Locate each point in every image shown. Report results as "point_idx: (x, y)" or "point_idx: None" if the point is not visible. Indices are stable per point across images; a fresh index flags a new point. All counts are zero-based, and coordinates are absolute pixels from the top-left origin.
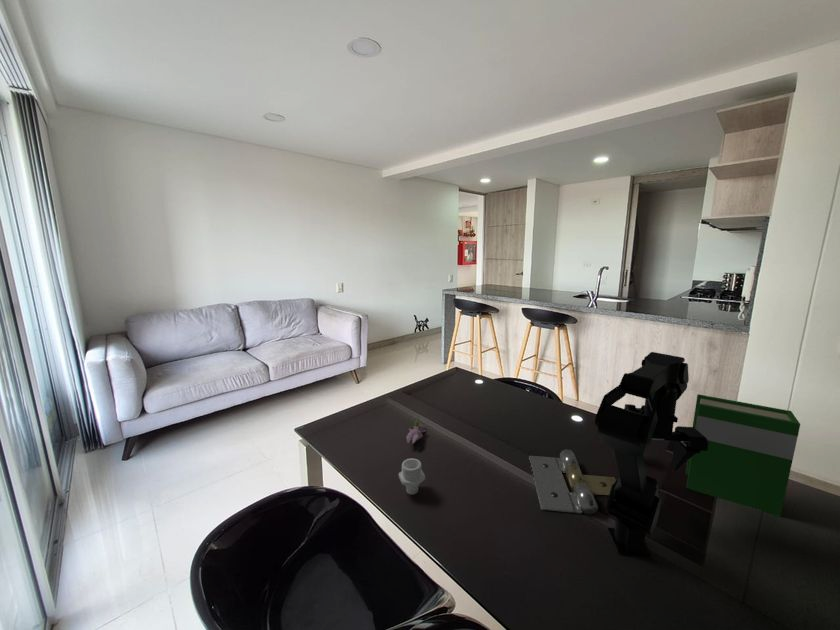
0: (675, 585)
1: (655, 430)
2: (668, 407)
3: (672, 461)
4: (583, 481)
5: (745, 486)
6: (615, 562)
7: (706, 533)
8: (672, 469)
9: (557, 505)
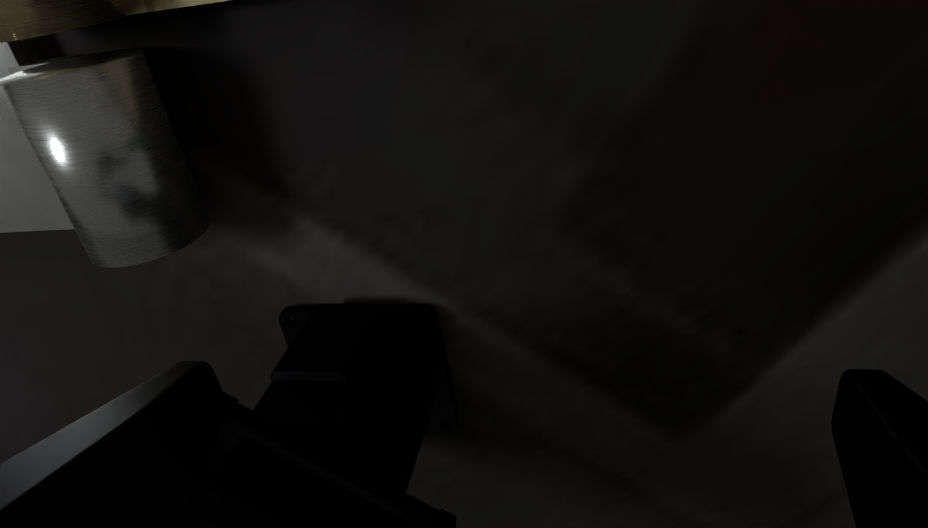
0: (511, 511)
1: None
2: None
3: (913, 486)
4: (28, 31)
5: None
6: None
7: (896, 242)
8: (840, 393)
9: (4, 214)
